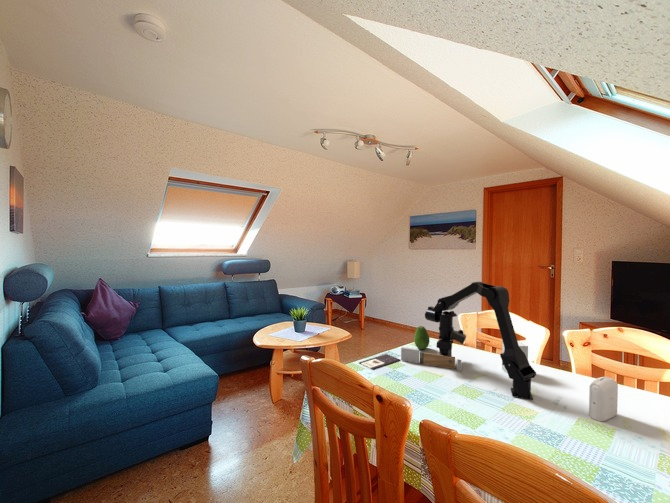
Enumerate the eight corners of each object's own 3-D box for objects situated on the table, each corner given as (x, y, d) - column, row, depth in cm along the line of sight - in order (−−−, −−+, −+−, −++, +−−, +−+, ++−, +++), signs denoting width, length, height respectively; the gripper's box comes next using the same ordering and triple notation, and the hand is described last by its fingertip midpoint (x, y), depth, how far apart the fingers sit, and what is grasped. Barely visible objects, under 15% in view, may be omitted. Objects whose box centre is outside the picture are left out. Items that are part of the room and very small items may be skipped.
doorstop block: (450, 363, 139) (451, 349, 139) (439, 361, 141) (439, 348, 141) (451, 360, 142) (451, 347, 142) (440, 358, 144) (440, 345, 144)
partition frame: (461, 370, 134) (461, 356, 134) (401, 360, 145) (401, 347, 145) (461, 368, 136) (461, 354, 136) (402, 358, 147) (402, 346, 147)
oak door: (454, 369, 134) (454, 358, 134) (419, 364, 141) (419, 352, 141) (455, 367, 137) (455, 356, 137) (419, 362, 143) (420, 351, 143)
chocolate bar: (400, 359, 145) (372, 368, 134) (400, 361, 145) (372, 370, 134) (386, 353, 152) (359, 362, 141) (386, 355, 152) (359, 364, 141)
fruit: (411, 347, 164) (411, 324, 164) (423, 345, 166) (424, 323, 166) (419, 352, 156) (419, 328, 156) (432, 350, 159) (433, 327, 158)
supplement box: (528, 376, 129) (528, 346, 128) (510, 375, 129) (511, 345, 128) (518, 368, 136) (518, 340, 136) (501, 368, 136) (501, 340, 136)
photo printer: (602, 423, 95) (603, 383, 94) (586, 416, 98) (587, 378, 98) (619, 415, 99) (620, 377, 99) (603, 409, 103) (604, 372, 103)
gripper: (464, 332, 129) (463, 368, 130) (465, 322, 146) (465, 354, 147) (436, 329, 134) (436, 364, 134) (440, 319, 151) (440, 351, 151)
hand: (445, 358), depth 141 cm, fingers closed on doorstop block, 4 cm apart
